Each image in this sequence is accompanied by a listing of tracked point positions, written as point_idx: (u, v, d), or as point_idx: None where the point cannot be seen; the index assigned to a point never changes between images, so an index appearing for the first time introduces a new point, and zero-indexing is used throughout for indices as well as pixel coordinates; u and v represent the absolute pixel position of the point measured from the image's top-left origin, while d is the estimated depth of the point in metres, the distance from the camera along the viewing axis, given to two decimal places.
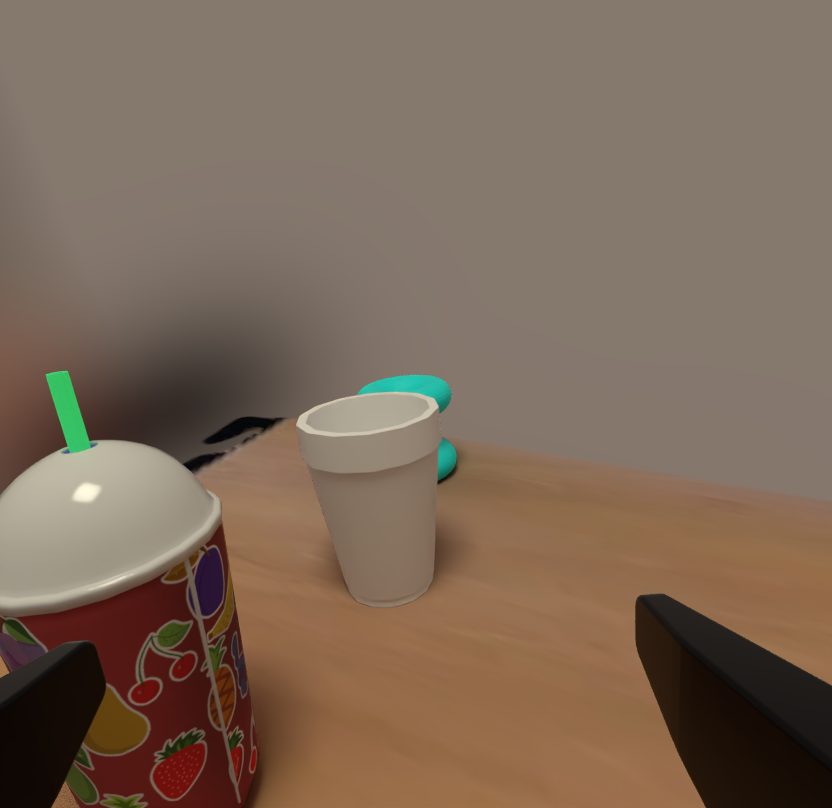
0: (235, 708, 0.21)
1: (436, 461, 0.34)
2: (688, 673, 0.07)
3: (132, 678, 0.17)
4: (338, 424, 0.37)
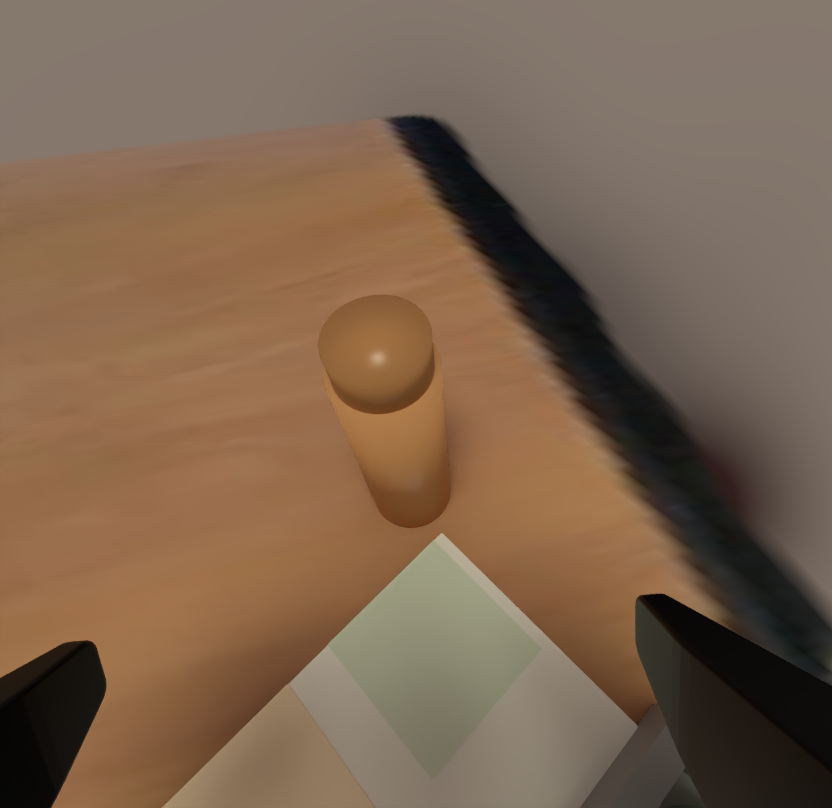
0: None
1: None
2: (688, 673, 0.07)
3: None
4: None
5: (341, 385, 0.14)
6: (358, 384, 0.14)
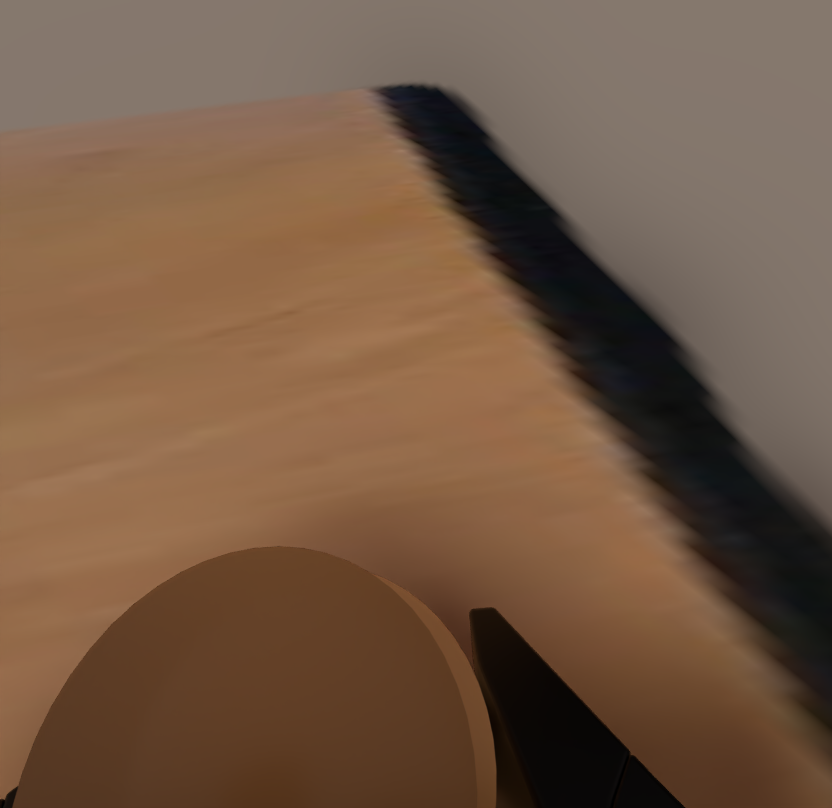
0: None
1: None
2: (481, 689, 0.07)
3: None
4: None
5: None
6: None
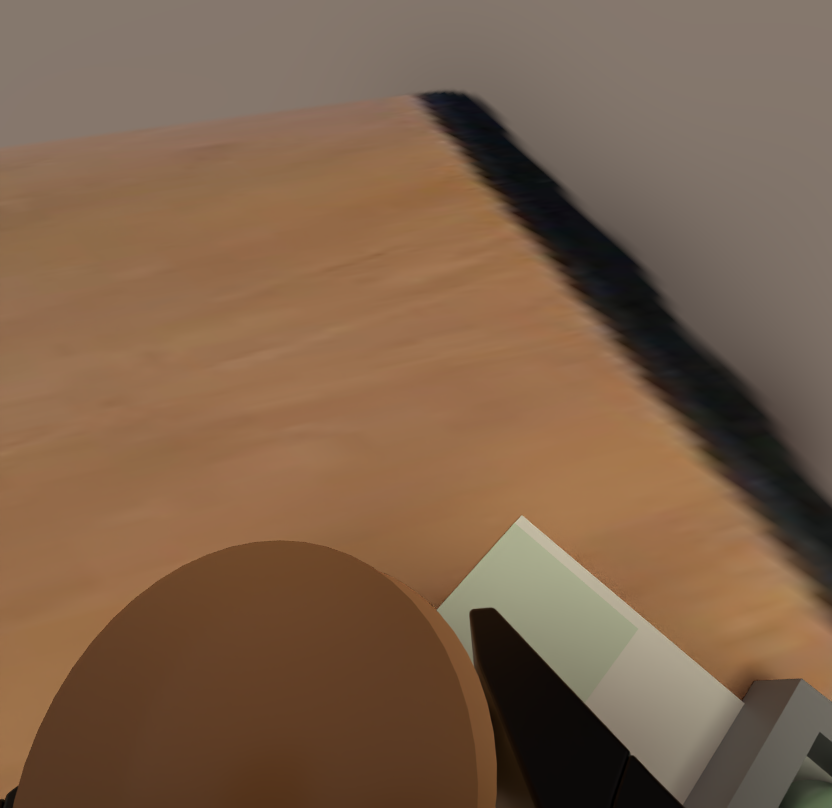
0: None
1: None
2: None
3: None
4: None
5: None
6: None
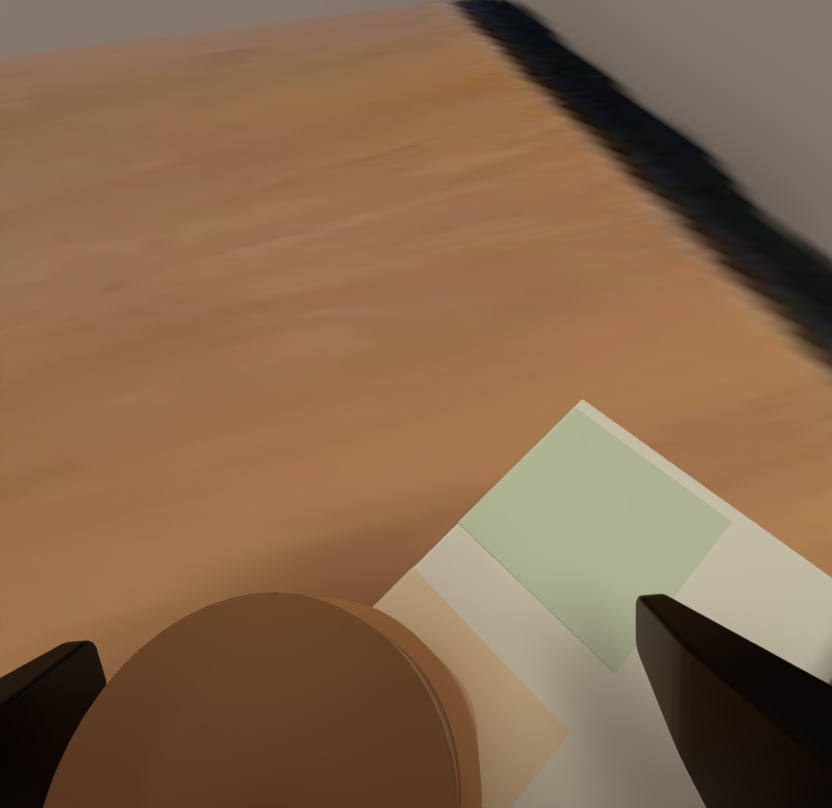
0: None
1: None
2: (688, 673, 0.07)
3: None
4: None
5: None
6: None
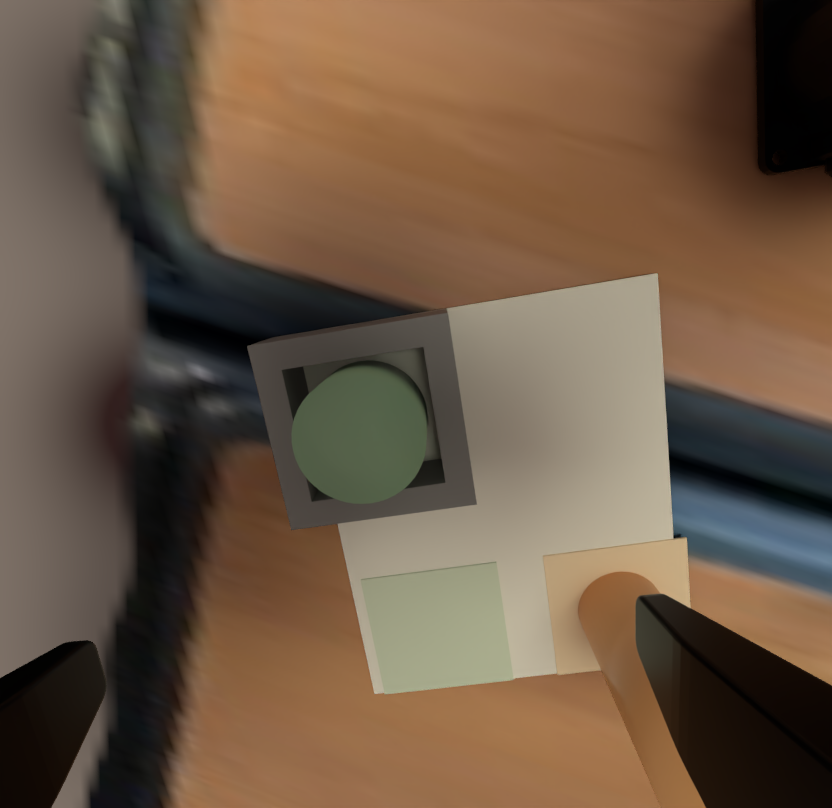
0: None
1: None
2: (688, 673, 0.07)
3: None
4: None
5: None
6: None
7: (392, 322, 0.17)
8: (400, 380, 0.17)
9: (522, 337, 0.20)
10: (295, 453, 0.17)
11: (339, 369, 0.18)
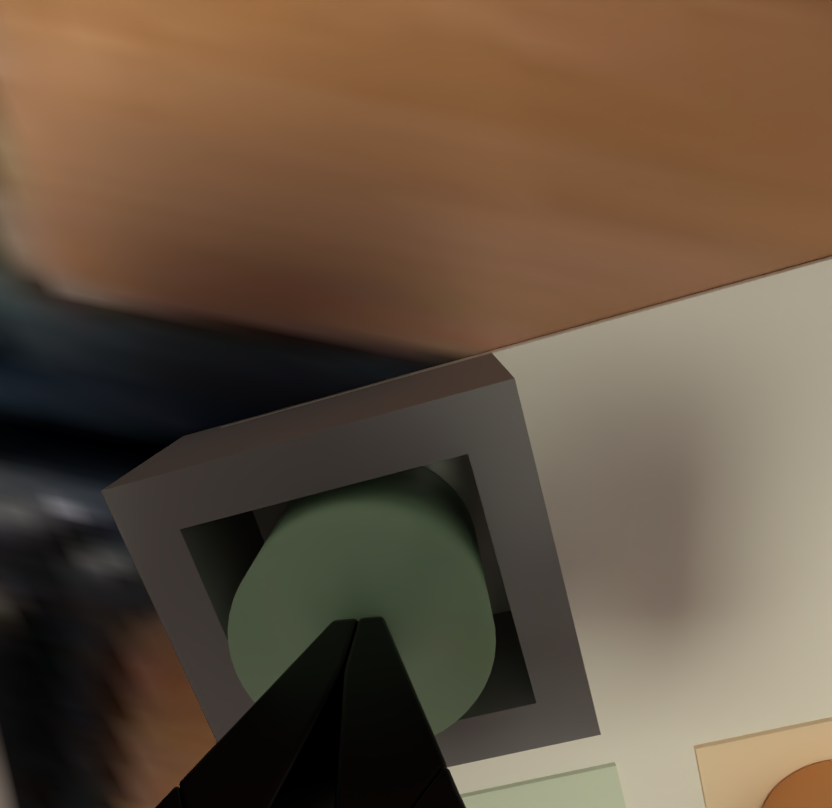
0: None
1: None
2: None
3: None
4: None
5: None
6: None
7: (397, 410, 0.08)
8: (427, 503, 0.09)
9: (638, 389, 0.11)
10: (242, 674, 0.09)
11: None
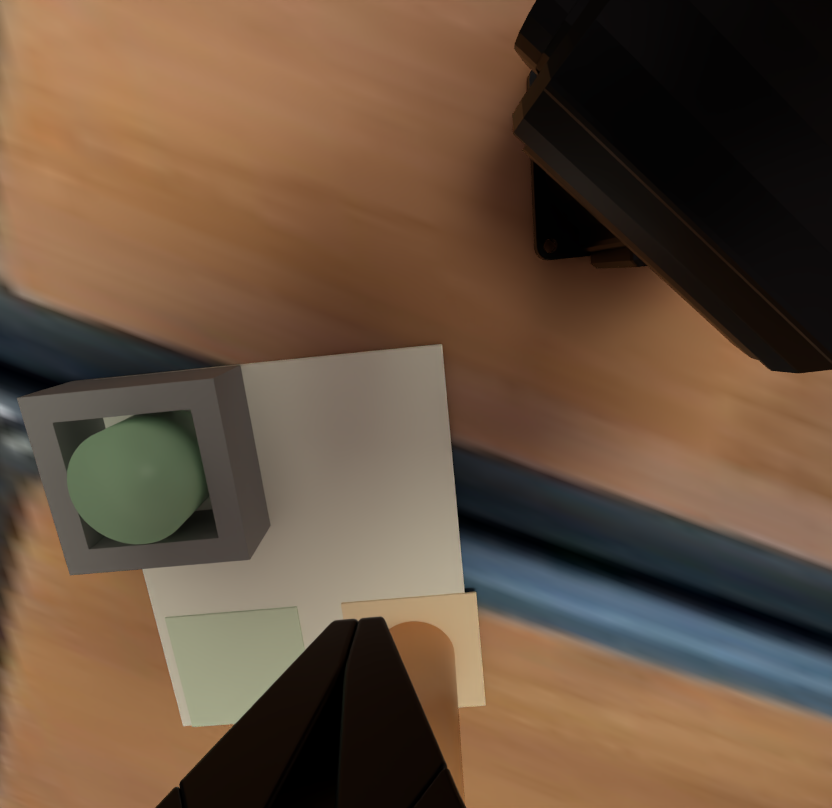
0: None
1: None
2: None
3: None
4: None
5: None
6: None
7: (160, 384, 0.18)
8: (179, 431, 0.19)
9: (315, 396, 0.21)
10: (72, 495, 0.18)
11: (133, 415, 0.20)
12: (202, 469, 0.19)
